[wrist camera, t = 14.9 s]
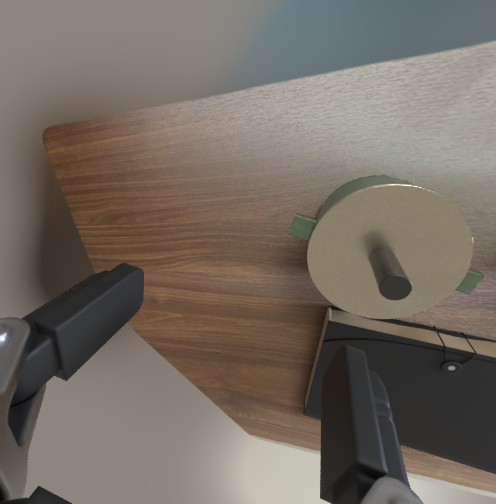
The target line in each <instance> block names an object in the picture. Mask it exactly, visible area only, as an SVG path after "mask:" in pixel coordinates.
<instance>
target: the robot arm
mask: <svg viewBox="0 0 496 504" xmlns="http://www.w3.org/2000/svg"><path fill="white" fill-rule="evenodd" d="M143 290H144V272H143V270H142V269H140V268H137V267H135V266H132V265H129V264H126V263H122V264H120V265H118V266H117V267H115V268H114V269H112V270H111V271H107V270H106V271H103V272H100V273H97V274H94V275H91V276H90V277H88V278H86V279H85V280H83V281H82V282H80V283H79V285H75V286H73V287H72V288H70V289H69V291H65V292H64V293H62V294H61V295H59V296H57V297H56V298H54V299H53V300H51V301H49V302H48V303H46V304H44V305H43V306H41V307H40V308H38V309H36V310H35V311H33V312H32V313H30V314H28V315H27V316H25V317H23V318H22V319H20V318H12V317H11V318H0V504H72V503H70V502H68V501H66V500H64V499H62V498H61V497H59V496H57V495H55V494H53V493H51V492H49V491H47V490H46V489H44V488H42V487H40V486H38V487H37V488H36V490H35V491H34V492H33V493H32V495H31V496H30V497H29V498H22V497H23V493H24V489H25V485H26V478H27V457H28V450H29V446H30V443H31V439H32V436H33V432H34V429H35V425H36V421H37V418H38V414H39V410H40V407H41V403H42V400H43V396H44V393H45V389H46V382H47V381H48V380H50V379H51V378H52V377H53V376H56V377H59V378H61V379H63V380H65V381H67V380H68V379H69V378H70V377H71V376H72V375H73V374H74V373H75V372H76V371H77V370H78V369H79V368H80V367H81V366H82V365H83V364H84V363H85V362H86V361H88V359H90V357H91V356H93V355H94V354H95V353H96V352H97V351H98V350H99V349H100V348H101V347H102V346H103V345H104V344H105V343H106V342H107V341H108V340H109V339H110V338H111V337H112V336H113V335H114V334H115V333H116V332H117V331H118V330H119V329H120V328H122V326H124V325H125V324H126V323H127V322H128V321H129V320H130V319H131V318H132V317H133V316H134V315H135V314H136V313H137V312H138V310H139V309H140V307H141V305H142V302H143ZM389 406H390V403H389V399H388V394H387V390H386V387H385V386H384V384H383V382H382V381H381V379H380V377H379V376H378V374H377V372H374V371H372V370H369V369H368V363H367V358H366V354H365V352H364V351H362V350H359V349H356V348H354V347H351V346H348V345H345V344H341V345H340V346H339V348H338V349H337V351H336V353H335V355H334V356H333V358H332V360H331V361H330V363H329V365H328V367H327V368H326V370H325V373H324V376H323V380H322V387H321V475H320V477H321V479H320V498H321V499H323V500H325V501H327V502H330V503H332V504H423V502H422V501H421V500H420V498H419V497H418V496H417V495H416V494H415V493H414V492H413V491H412V490H411V488H410V485H409V482H408V478H407V474H406V470H405V465H404V461H403V457H402V453H401V449H400V445H399V440H398V436H397V432H396V428H395V424H394V422H393V415H392V411H391V408H390V407H389Z"/></svg>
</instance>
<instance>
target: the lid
mask: <svg viewBox="0 0 496 504" xmlns="http://www.w3.org/2000/svg"><path fill="white" fill-rule="evenodd" d="M472 256H473V237H472V232H471V229H470V226H469V224H468V222H467V220H466V218H465V217H464V215H463V214H462V212H461V211H460V210H459V209H458V208H457V207H456V206H455V205H454V204H453V203H452V202H450V201H449V200H448V199H446V198H445V197H443V196H441V195H440V194H438V193H436V192H434V191H432V190H429V189H426V188H423V187H420V186H415V185H411V184H401V183H392V184H381V185H374V186H371V187H367V188H363V189H361V190H358V191H356V192H353V193H351V194H349V195H348V196H346V197H344V198H342V199H341V200H339V201H338V202H337V203H335V204H334V205H333V206H332V207H330V208H329V209H328V210H327V211H326V212H325V213H324V215H323V216H322V217H321V218H320V219H319V221H318V223H317V224H316V226H315V227H314V230H313V232H312V234H311V237H310V240H309V244H308V250H307V263H308V269H309V273H310V276H311V278H312V280H313V283H314V284H315V286H316V287H317V289H318V290H319V291H320V293H321V294H322V295H323V296H324V297H325V298H326V299H327V300H328V301H330V302H331V303H332V304H334V305H335V306H337V307H339V308H340V309H342V310H344V311H347V312H349V313H351V314H354V315H358V316H361V317H366V318H374V319H394V318H402V317H407V316H411V315H414V314H418V313H420V312H423V311H425V310H428V309H429V308H431V307H433V306H435V305H437V304H438V303H440V302H441V301H443V300H444V299H446V298H447V297H448V296H449V295H450V294H451V293H452V292H453V291H454V290H455V289H456V288H457V287H458V286H459V285H460V283H461V282H462V280H463V279H464V277H465V276H466V274H467V272H468V270H469V267H470V264H471V261H472Z"/></svg>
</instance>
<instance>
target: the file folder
mask: <svg viewBox="0 0 496 504" xmlns="http://www.w3.org/2000/svg"><path fill="white" fill-rule="evenodd" d="M341 344H345V345H348V346H351V347H354V348H356V349H359V350H362V351H364V352H365V354H366V358H367V363H368V369H369V370H372V371H374V372H377V374H378V376H379V377H380V379H381V381H382V382H383V384H384V386H385V387H386V390H387V394H388V399H389V403H390V406H389V407H390V408H391V411H392V415H393V422H394V424H395V428H396V432H397V436H398V440H399V444H400V445H404V446H407V447H410V448H413V449H417V450H420V451H423V452H426V453H429V454H433V455H436V456H439V457H442V458H446V459H449V460H452V461H455V462H458V463H462V464H465V465H468V466H471V467H475V468H478V469H481V470H484V471H487V472H491V473H494V474H496V341H494V340H489V339H484V338H480V337H475V336H470V335H465V334H464V333H456V332H451V331H446V330H442V329H437V328H436V327H433V328H432V327H427V326H423V325H418V324H413V323H408V322H404V321H399V320H394V319H374V318H366V317H361V316H358V315H354V314H351V313H349V312H347V311H344V310H342V309H340V308H337V307H332V306H328V308H327V312H326V316H325V320H324V324H323V328H322V332H321V336H320V340H319V345H318V349H317V353H316V357H315V361H314V365H313V369H312V373H311V377H310V381H309V385H308V389H307V393H306V397H305V403H304V412H303V414H304V415H307V416H310V417H313V418H316V419H320V420H321V387H322V380H323V376H324V373H325V370H326V368H327V367H328V365H329V363H330V361H331V360H332V358H333V356H334V355H335V353H336V351H337V349H338V348H339V346H340V345H341Z"/></svg>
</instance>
